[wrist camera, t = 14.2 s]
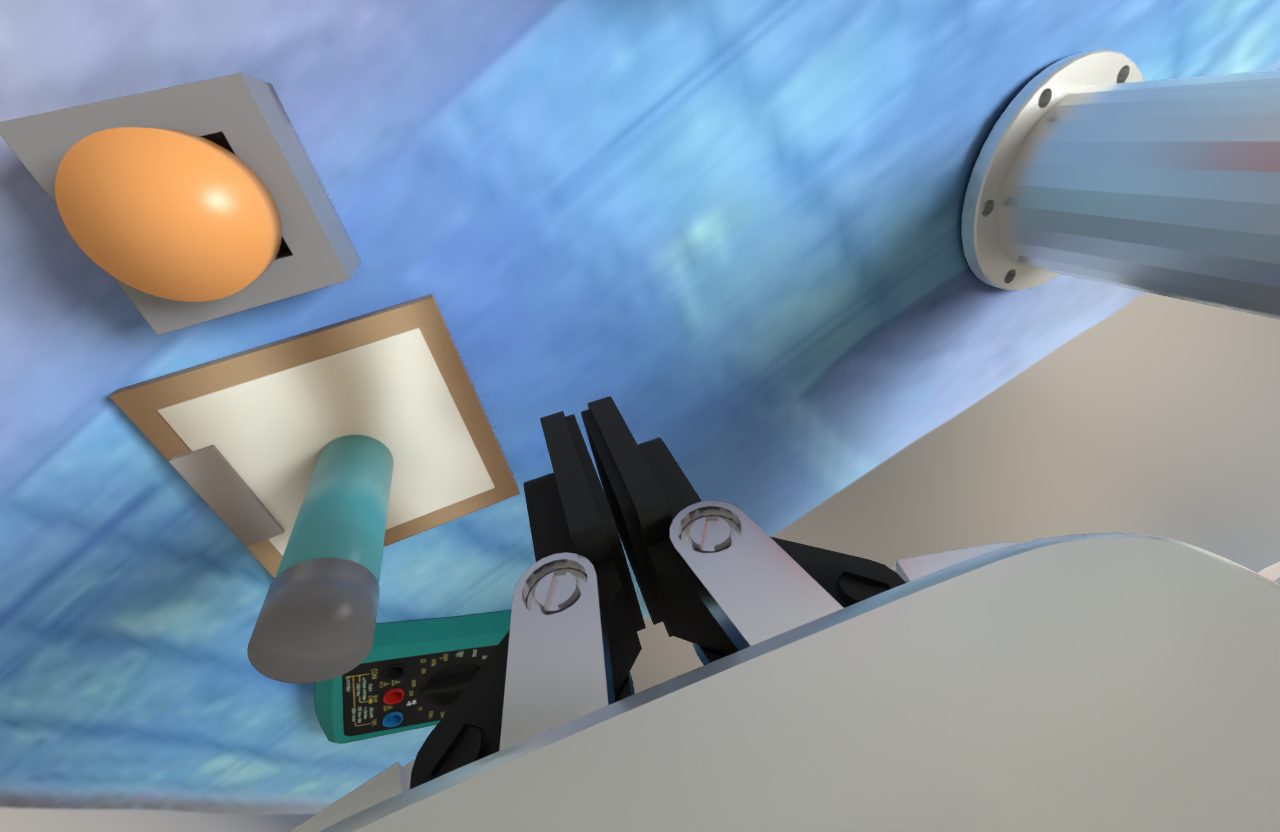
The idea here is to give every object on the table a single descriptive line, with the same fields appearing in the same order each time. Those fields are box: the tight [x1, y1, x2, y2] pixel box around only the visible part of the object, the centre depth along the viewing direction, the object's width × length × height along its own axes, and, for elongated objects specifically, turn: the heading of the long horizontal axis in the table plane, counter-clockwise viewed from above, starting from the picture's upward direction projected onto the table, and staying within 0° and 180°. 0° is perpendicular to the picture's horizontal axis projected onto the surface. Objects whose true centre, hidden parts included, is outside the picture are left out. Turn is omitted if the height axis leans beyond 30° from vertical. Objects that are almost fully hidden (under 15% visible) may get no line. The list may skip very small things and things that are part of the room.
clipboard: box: [109, 294, 520, 578], centre depth 23 cm, size 12×11×1 cm
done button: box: [55, 127, 282, 302], centre depth 15 cm, size 4×4×4 cm
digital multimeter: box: [314, 610, 512, 744], centre depth 31 cm, size 7×15×3 cm, turn 77°
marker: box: [248, 435, 394, 684], centre depth 19 cm, size 3×3×10 cm
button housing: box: [0, 73, 361, 335], centre depth 16 cm, size 6×6×3 cm
